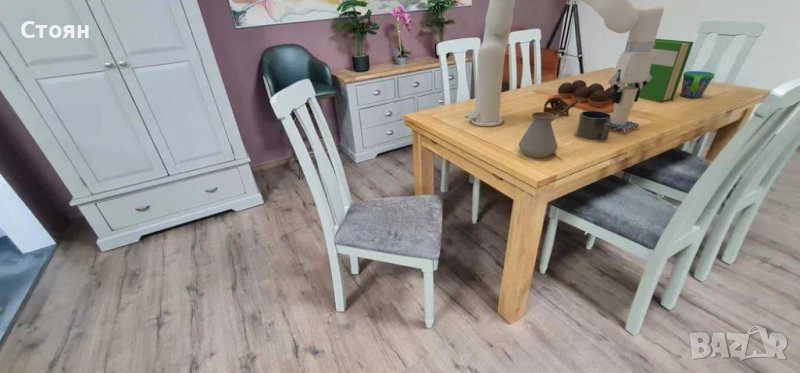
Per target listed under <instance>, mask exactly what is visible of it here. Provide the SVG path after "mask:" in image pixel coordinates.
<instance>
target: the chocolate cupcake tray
mask: <svg viewBox="0 0 800 373" xmlns="http://www.w3.org/2000/svg"><path fill="white" fill-rule="evenodd" d="M613 93H614V91H613V89H612V87H611V86H610V87H608V88H606V89H605V88H604V86H603V85H602V84H600V83H598V82H596V83H592V84H590V85H589V86H588V85H587V83H586V81H584V80H581V79H579V80H575V81H573V82H564V83H561V85H559V86H558V88H557V94H553V95H549V96H548V100H549V99H551V98H553V97H560V98H562V99H563V100H564V101H565V102H566V103H567V105H568V106H569V105H571V103H574V102H575V101H576V100H579V101H580V102H581V103H580V102H579V101H578V103H576V104H577V105H576V104H575V105H574V106H573V108H579V109H582V110H584V111H601V112H605V113H611V112H613V110H614V102H612V97H613ZM558 102H559V103H560V101H558ZM578 105H580V106H578Z"/></svg>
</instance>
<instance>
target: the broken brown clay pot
mask: <svg viewBox="0 0 800 373" xmlns="http://www.w3.org/2000/svg"><path fill="white" fill-rule="evenodd" d="M558 101H560V102H558ZM548 105H550V107H549V106H548ZM543 106H544V107H543V110H542V112H547V113H551V114H556V113H557V114H558V113H559V112H561V111H562V110H563V109H564V108H565V107H567V106H569V105H567V103H566V102H565V101H564V100H563V99H562V98H560V97H553V98H551V99H548V100H546V101H545V102H544V104H543ZM569 113H570V110H568V111H566V112H565V113H564V114H566V115H567V116H569Z"/></svg>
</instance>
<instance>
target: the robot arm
mask: <svg viewBox="0 0 800 373" xmlns="http://www.w3.org/2000/svg"><path fill="white" fill-rule="evenodd" d="M515 2H516V0H489V2H488V6H487V12H486V14H485V28H484V33H483V37H482V42H481V44H480V46H479V47H478V51H477V74H476V92H475V109H472V111H471V112H470V113H469V112H466V113H463V115H462V116H463V119H468V120H470V123H472V124H473V125H476V126H478V127H496V126H500V125H501V124H502V123H503V118H502V117H501V116H500V110H501V100H502V88H503V78H504V66H505V57H506V51H507V47H508V43H509V37H510V34H511V30H512V25H513V21H514V9H515V4H516V3H515ZM581 2H583V3H585V4H586V5H588V6H589V7H591V8H592V9H593V10H594V11H595V12H596V13H597V14H598V15H599V16H600V17H601V18H602V19H603V22H604V23H603V24H604V25H605V27H606V28H607V29H608V30H609V31H611V32H614V33H617V34H625V33H628V32H629V33H628V37H627V40H626V44H625V48H624V51H621V54H620V55H619V58H618V59H617V60H618V61H617V62H616V65H615V69H614V71H613V74H612V77H611V78H610V79H609V80H608V84H609V86H610V87H612V89H613V91H614V93H613V97H612V102H614V103H617V104H619V103H620V99H621V96H622V92H621V90H622V89H623V87H624V86H626V85H628V84H630V83H634V87H636V88H638V91H637V93H636V97H635V100H634V103H636V102H638V100H639V98H640V97H639V94H640V90H642V89H643V87H644V86H645V85H646V84H647V82H649V81H650V80H651V79H652V76H651V75H650V73H649V72H650V68H651V63H652V56H653V52H652V49H653V47H654V46H655V39H657V36H658V31H659V30H660V29H659V28H660V25H661V22H662V21H661V20H662V19H663V15H664V11H665V7H664V5H663V4H643V5H634V4H633V3H632V2H631V1H630V0H581Z"/></svg>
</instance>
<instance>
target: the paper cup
mask: <svg viewBox="0 0 800 373" xmlns="http://www.w3.org/2000/svg"><path fill="white" fill-rule="evenodd" d="M637 91H638V88H636V87H631V86H627V85H625V86H624V87H623V89H622V90H621V92H622V96H621V99H620V103H619V104H617V103H614V110H613V111H612V115H611V117H610V118H611V123H613V124H617V125H625V124H627V120H628V121H629V117H630V113H631V111H632V108H633V106H634V104H635V102H634V100H635V97H636V93H637Z"/></svg>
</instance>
